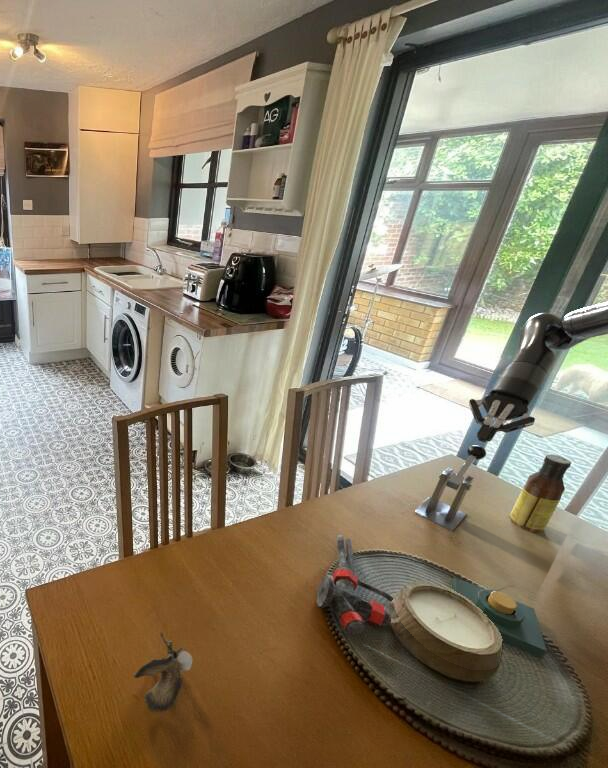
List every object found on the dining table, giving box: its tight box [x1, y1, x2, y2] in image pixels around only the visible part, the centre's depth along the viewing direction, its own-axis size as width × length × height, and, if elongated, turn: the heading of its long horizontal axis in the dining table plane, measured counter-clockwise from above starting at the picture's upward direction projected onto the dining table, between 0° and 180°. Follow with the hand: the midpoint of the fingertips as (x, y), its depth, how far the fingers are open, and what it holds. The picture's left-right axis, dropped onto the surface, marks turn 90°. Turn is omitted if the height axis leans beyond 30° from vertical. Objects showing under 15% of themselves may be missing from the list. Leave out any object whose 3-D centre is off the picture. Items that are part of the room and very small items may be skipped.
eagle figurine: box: [133, 631, 194, 712], centre depth 67 cm, size 8×7×9 cm
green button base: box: [451, 577, 547, 659], centre depth 78 cm, size 12×10×4 cm
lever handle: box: [446, 444, 487, 491], centre depth 101 cm, size 14×4×4 cm, turn 125°
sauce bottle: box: [509, 454, 572, 534], centre depth 97 cm, size 7×6×20 cm
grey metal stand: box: [413, 467, 475, 532], centre depth 101 cm, size 10×8×13 cm
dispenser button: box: [488, 590, 517, 615], centre depth 77 cm, size 4×4×2 cm
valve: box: [316, 534, 395, 635], centre depth 83 cm, size 6×26×15 cm
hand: (482, 440), depth 101 cm, fingers closed
